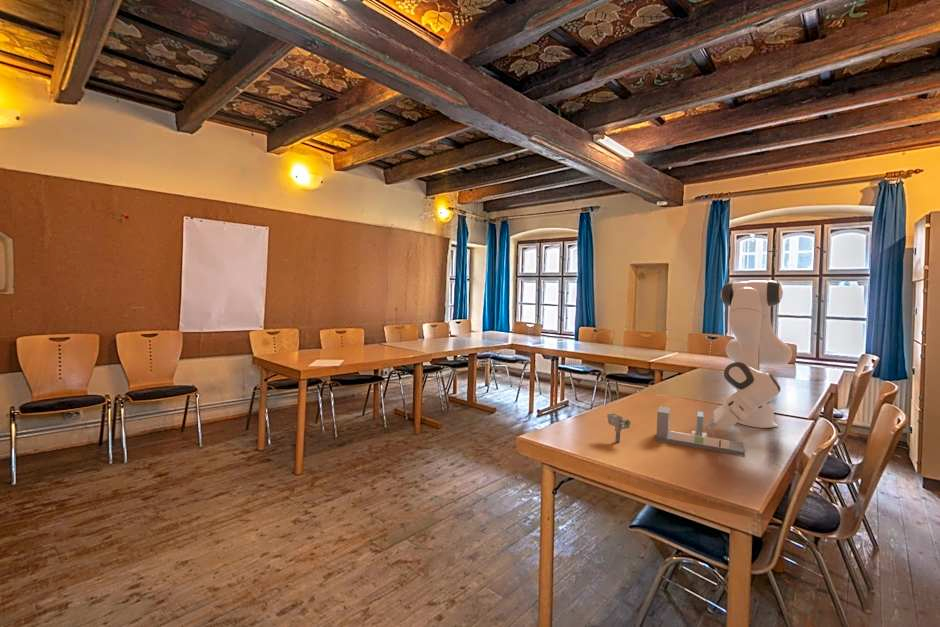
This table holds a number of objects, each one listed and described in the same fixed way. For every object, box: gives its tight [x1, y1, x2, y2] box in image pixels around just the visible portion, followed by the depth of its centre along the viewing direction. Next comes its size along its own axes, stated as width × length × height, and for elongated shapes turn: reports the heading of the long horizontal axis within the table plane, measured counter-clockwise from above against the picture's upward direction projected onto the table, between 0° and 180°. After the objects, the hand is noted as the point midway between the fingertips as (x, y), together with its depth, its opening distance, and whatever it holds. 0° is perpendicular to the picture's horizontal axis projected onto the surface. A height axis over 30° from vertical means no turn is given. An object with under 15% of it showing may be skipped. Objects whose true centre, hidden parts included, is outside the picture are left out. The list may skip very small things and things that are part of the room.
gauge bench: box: [655, 406, 746, 457], centre depth 171 cm, size 12×30×12 cm, turn 62°
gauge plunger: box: [691, 411, 707, 437], centre depth 170 cm, size 10×5×10 cm, turn 152°
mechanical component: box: [606, 413, 631, 444], centre depth 170 cm, size 3×10×10 cm, turn 27°
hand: (706, 427), depth 170 cm, fingers closed
